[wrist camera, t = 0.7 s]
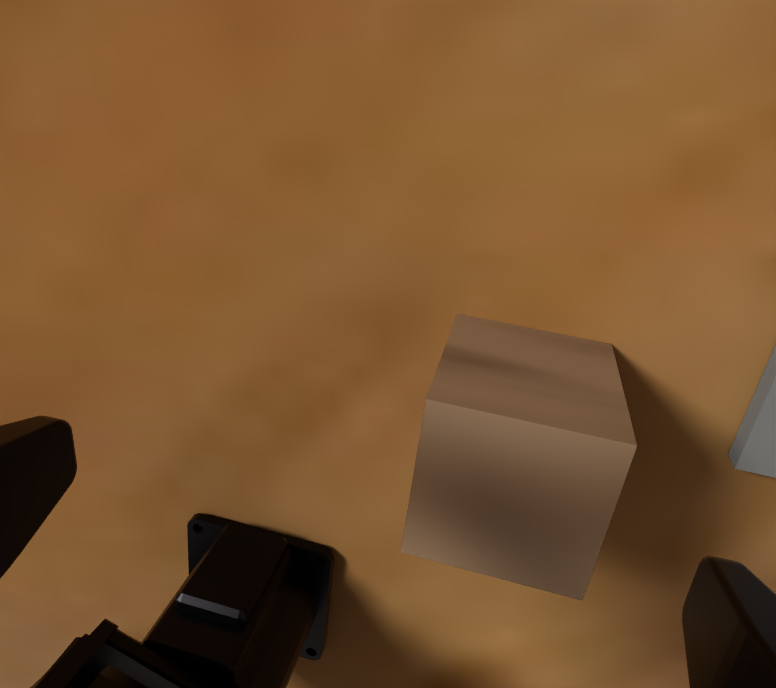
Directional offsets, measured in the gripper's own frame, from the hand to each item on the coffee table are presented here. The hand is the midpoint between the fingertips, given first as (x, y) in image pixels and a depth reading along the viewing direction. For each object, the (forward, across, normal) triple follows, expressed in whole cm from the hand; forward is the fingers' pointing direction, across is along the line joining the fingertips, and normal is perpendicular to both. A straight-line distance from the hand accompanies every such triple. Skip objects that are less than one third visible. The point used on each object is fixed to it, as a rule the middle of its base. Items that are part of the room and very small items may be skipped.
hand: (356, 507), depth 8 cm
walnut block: (+12, -3, +4) cm, 13 cm away
